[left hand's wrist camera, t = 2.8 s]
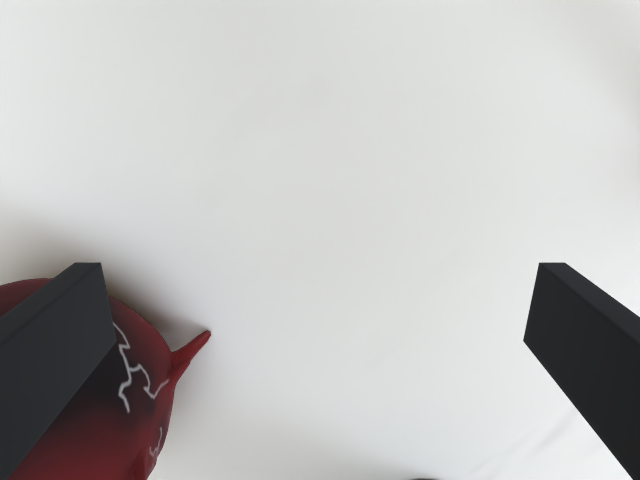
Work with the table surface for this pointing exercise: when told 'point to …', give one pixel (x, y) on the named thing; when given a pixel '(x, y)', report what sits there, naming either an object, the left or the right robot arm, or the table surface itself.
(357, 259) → the table surface
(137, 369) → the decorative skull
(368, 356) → the table surface
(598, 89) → the table surface
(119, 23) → the table surface
